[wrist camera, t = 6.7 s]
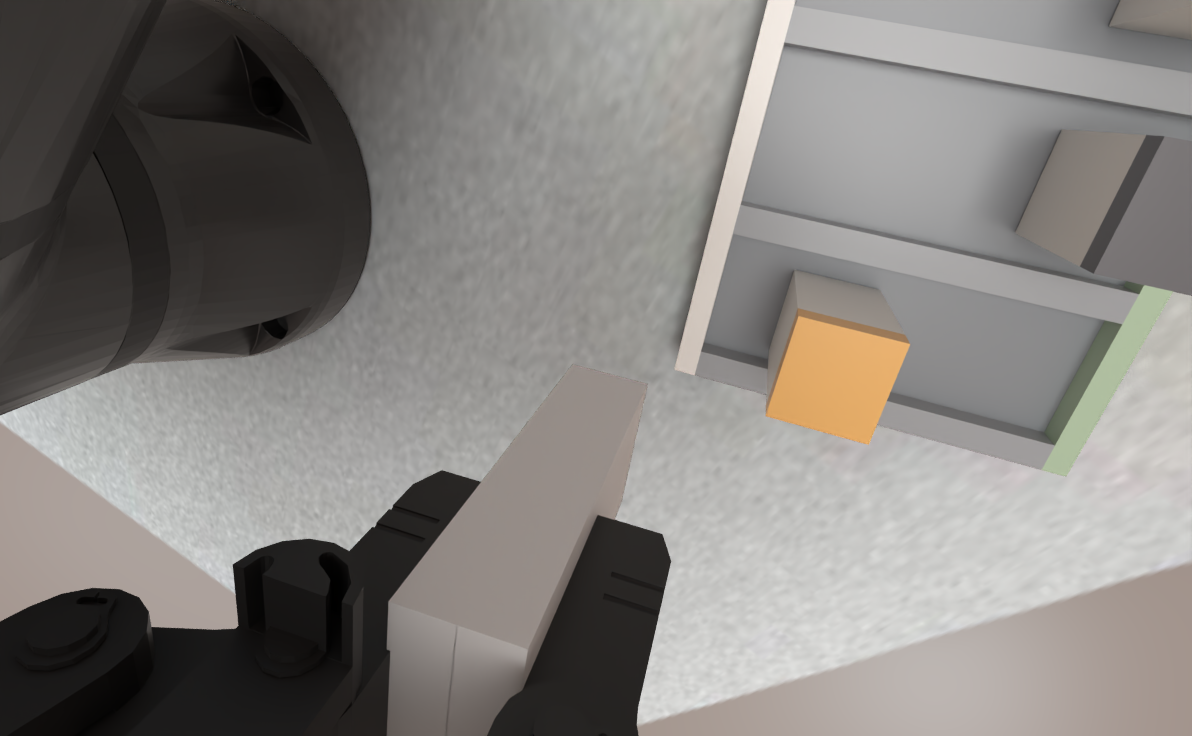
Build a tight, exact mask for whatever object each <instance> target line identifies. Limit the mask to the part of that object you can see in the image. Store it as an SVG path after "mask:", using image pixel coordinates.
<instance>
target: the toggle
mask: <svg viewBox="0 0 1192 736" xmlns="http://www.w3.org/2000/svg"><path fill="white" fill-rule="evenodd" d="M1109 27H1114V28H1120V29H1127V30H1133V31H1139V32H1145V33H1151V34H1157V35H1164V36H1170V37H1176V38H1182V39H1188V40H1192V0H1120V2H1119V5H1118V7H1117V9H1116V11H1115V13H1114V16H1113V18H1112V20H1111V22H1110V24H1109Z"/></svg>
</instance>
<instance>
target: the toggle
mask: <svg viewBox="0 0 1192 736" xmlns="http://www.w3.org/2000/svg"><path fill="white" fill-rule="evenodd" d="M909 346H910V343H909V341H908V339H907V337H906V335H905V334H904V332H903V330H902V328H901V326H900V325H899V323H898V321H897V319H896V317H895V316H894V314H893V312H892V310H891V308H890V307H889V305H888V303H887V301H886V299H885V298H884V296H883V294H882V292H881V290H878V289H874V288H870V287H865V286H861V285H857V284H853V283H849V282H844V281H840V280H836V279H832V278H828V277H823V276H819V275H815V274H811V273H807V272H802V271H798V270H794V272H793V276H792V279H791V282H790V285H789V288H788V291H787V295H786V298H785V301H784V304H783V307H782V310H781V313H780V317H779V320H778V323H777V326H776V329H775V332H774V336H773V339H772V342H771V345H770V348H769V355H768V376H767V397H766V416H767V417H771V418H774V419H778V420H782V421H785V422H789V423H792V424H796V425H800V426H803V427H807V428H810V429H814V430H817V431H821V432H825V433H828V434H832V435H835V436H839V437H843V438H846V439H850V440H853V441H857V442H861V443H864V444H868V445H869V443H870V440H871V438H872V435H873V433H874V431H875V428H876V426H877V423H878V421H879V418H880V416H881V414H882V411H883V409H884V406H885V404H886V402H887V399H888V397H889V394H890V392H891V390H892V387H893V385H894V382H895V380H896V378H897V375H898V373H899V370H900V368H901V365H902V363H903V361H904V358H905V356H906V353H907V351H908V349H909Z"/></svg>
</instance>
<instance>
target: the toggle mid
mask: <svg viewBox="0 0 1192 736" xmlns="http://www.w3.org/2000/svg"><path fill="white" fill-rule="evenodd" d="M1015 233H1016V234H1018V235H1020V236H1022V237H1024V238H1026V239H1027V240H1029V241H1031V242H1033V243H1035V244H1037V245H1039V246H1041V247H1043V248H1045V249H1047V250H1049V251H1051V252H1052V253H1054V254H1056V255H1058V256H1060V257H1062V258H1064V259H1066V260H1068V261H1070V262H1072V263H1074V264H1076V265H1077V266H1079V267H1081V268H1083V269H1085V270H1087V271H1089V272H1091V273H1093V274H1096V275H1101V276H1105V277H1110V278H1114V279H1119V280H1123V281H1128V282H1132V283H1137V284H1141V285H1146V286H1150V287H1155V288H1159V289H1164V290H1168V291H1173V292H1177V293H1182V294H1186V295H1191V296H1192V141H1188V140H1183V139H1177V138H1172V137H1166V136H1154V135H1139V134H1124V133H1109V132H1094V131H1078V130H1063V129H1062V130H1061V133H1060V135H1059V137H1058V139H1057V141H1056V144H1055V146H1054V148H1053V150H1052V152H1051V155H1050V157H1049V159H1048V161H1047V163H1046V166H1045V168H1044V170H1043V172H1042V174H1041V177H1040V179H1039V181H1038V183H1037V185H1036V188H1035V190H1034V192H1033V194H1032V197H1031V199H1030V201H1029V203H1028V205H1027V208H1026V210H1025V212H1024V214H1023V216H1022V219H1021V221H1020V223H1019V225H1018V227H1017V230H1016V232H1015Z"/></svg>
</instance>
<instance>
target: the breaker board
mask: <svg viewBox="0 0 1192 736" xmlns="http://www.w3.org/2000/svg"><path fill="white" fill-rule="evenodd" d="M1119 2H1120V0H768V2H767V6H766V10H765V14H764V18H763V22H762V25H761V29H760V33H759V37H758V41H757V45H756V49H755V53H754V57H753V61H752V65H751V69H750V73H749V77H748V81H747V85H746V89H745V92H744V96H743V100H742V104H741V108H740V112H739V116H738V120H737V124H736V128H735V132H734V136H733V140H732V144H731V148H730V152H729V156H728V159H727V163H726V167H725V171H724V175H723V179H722V183H721V187H720V191H719V195H718V199H717V203H716V207H715V211H714V215H713V219H712V223H711V226H710V230H709V234H708V238H707V242H706V246H705V250H704V254H703V258H702V262H701V266H700V270H699V274H698V278H697V282H696V286H695V290H694V293H693V297H692V301H691V305H690V309H689V313H688V317H687V321H686V325H685V329H684V333H683V337H682V341H681V345H680V349H679V353H678V357H677V361H676V364H675V368H674V370H677V371H681V372H684V373H688V374H692V375H695V376H699V377H703V378H706V379H710V380H714V381H717V382H721V383H725V384H728V385H732V386H736V387H739V388H743V389H747V390H750V391H754V392H758V393H761V394H765V395H767V376H768V355H769V348H770V345H771V342H772V339H773V336H774V332H775V329H776V326H777V323H778V320H779V317H780V313H781V310H782V307H783V304H784V301H785V298H786V295H787V291H788V288H789V285H790V282H791V279H792V276H793V272H794V270H798V271H802V272H807V273H811V274H815V275H819V276H823V277H828V278H832V279H836V280H840V281H844V282H849V283H853V284H857V285H861V286H865V287H870V288H874V289H878V290H881V292H882V294H883V296H884V298H885V299H886V301H887V303H888V305H889V307H890V308H891V310H892V312H893V314H894V316H895V317H896V319H897V321H898V323H899V325H900V326H901V328H902V330H903V332H904V334H905V335H906V337H907V339H908V341H909V343H910V346H909V349H908V351H907V353H906V356H905V358H904V361H903V363H902V365H901V368H900V370H899V373H898V375H897V378H896V380H895V382H894V385H893V387H892V390H891V392H890V394H889V397H888V399H887V402H886V404H885V406H884V409H883V411H882V414H881V416H880V418H879V421H878V423H877V425H879V426H882V427H886V428H890V429H893V430H897V431H901V432H904V433H908V434H912V435H915V436H919V437H923V438H926V439H930V440H934V441H937V442H941V443H945V444H948V445H952V446H956V447H959V448H963V449H967V450H970V451H974V452H978V453H981V454H985V455H989V456H992V457H996V458H1000V459H1003V460H1007V461H1011V462H1014V463H1018V464H1022V465H1025V466H1029V467H1033V468H1036V469H1040V470H1044V471H1047V472H1051V473H1055V474H1058V475H1062V476H1067V474H1068V472H1069V471H1070V469H1071V467H1072V466H1073V464H1074V462H1075V460H1076V459H1077V457H1078V455H1079V453H1080V452H1081V450H1082V448H1083V447H1084V445H1085V443H1086V441H1087V440H1088V438H1089V436H1090V434H1091V433H1092V431H1093V429H1094V428H1095V426H1096V424H1097V422H1098V421H1099V419H1100V417H1101V415H1102V414H1103V412H1104V410H1105V408H1106V407H1107V405H1108V403H1109V402H1110V400H1111V398H1112V396H1113V395H1114V393H1115V391H1116V389H1117V388H1118V386H1119V384H1120V383H1121V381H1122V379H1123V377H1124V376H1125V374H1126V372H1127V370H1128V369H1129V367H1130V365H1131V364H1132V362H1133V360H1134V358H1135V357H1136V355H1137V353H1138V351H1139V350H1140V348H1141V346H1142V345H1143V343H1144V341H1145V339H1146V338H1147V336H1148V334H1149V332H1150V331H1151V329H1152V327H1153V325H1154V324H1155V322H1156V320H1157V319H1158V317H1159V315H1160V313H1161V312H1162V310H1163V308H1164V306H1165V305H1166V303H1167V301H1168V300H1169V298H1170V296H1171V294H1172V293H1173V291H1168V290H1164V289H1159V288H1155V287H1150V286H1146V285H1141V284H1137V283H1132V282H1128V281H1123V280H1119V279H1114V278H1110V277H1105V276H1101V275H1096V274H1093V273H1091V272H1089V271H1087V270H1085V269H1083V268H1081V267H1079V266H1077V265H1076V264H1074V263H1072V262H1070V261H1068V260H1066V259H1064V258H1062V257H1060V256H1058V255H1056V254H1054V253H1052V252H1051V251H1049V250H1047V249H1045V248H1043V247H1041V246H1039V245H1037V244H1035V243H1033V242H1031V241H1029V240H1027V239H1026V238H1024V237H1022V236H1020V235H1018V234H1016V233H1015V232H1016V230H1017V227H1018V225H1019V223H1020V221H1021V219H1022V216H1023V214H1024V212H1025V210H1026V208H1027V205H1028V203H1029V201H1030V199H1031V197H1032V194H1033V192H1034V190H1035V188H1036V185H1037V183H1038V181H1039V179H1040V177H1041V174H1042V172H1043V170H1044V168H1045V166H1046V163H1047V161H1048V159H1049V157H1050V155H1051V152H1052V150H1053V148H1054V146H1055V144H1056V141H1057V139H1058V137H1059V135H1060V133H1061V130H1062V129H1063V130H1078V131H1094V132H1109V133H1124V134H1139V135H1154V136H1166V137H1172V138H1177V139H1183V140H1188V141H1192V40H1188V39H1182V38H1176V37H1170V36H1164V35H1157V34H1151V33H1145V32H1139V31H1133V30H1127V29H1120V28H1114V27H1109V24H1110V22H1111V20H1112V18H1113V16H1114V13H1115V11H1116V9H1117V7H1118V5H1119Z"/></svg>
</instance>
